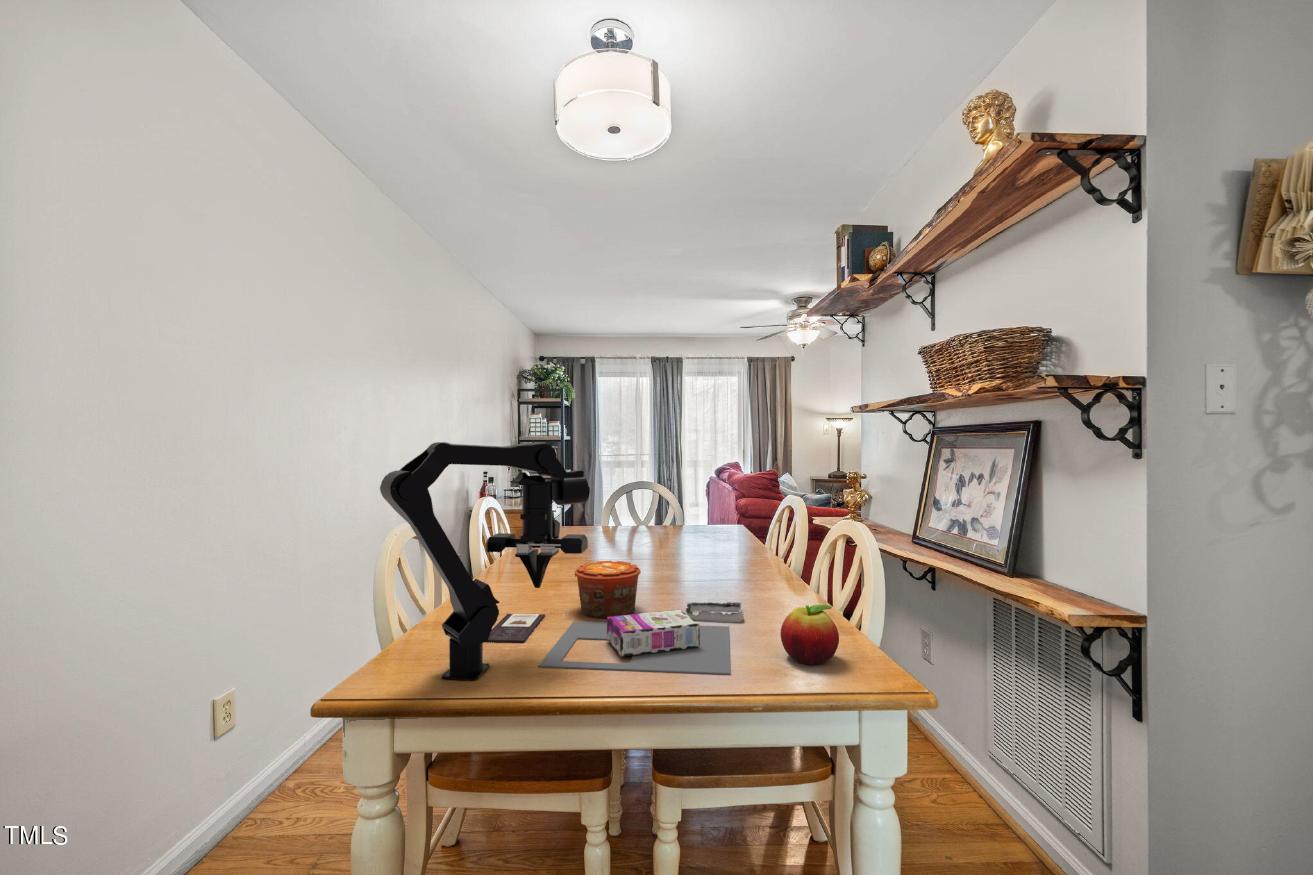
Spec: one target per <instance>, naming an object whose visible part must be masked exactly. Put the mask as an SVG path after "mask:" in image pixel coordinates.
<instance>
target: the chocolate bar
mask: <svg viewBox="0 0 1313 875" xmlns="http://www.w3.org/2000/svg"><path fill="white" fill-rule="evenodd" d="M545 617H546V614H543V613H541V614H539V613H538V614H537V613H535V614H534V613H507V614H506V615H505V616H504V617H503V618H502V619H501V620H500V621H498V623H497V624H495V625H494V626H493V627H492V630H491V633H490V636H489V639H488V641H487V642H490V644H491V642H492V643H493V642H494V643H496V644H499V643H500V644H501V643H502V644H525V643H526V642H527V641H528V640H529V638H530V637H529V636H531V635H532V634H533V633H534V632H535V630H536V629H537V628H538V626H540V624H541V623H542V621H544V619H545ZM540 622H541V623H540ZM535 628H536V629H535ZM534 629H535V630H534ZM494 643H493V644H494Z"/></svg>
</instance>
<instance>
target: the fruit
mask: <svg viewBox="0 0 1313 875" xmlns="http://www.w3.org/2000/svg"><path fill="white" fill-rule="evenodd" d="M832 609H833V606H832V605H828V604H813V605H809V604H806V605H805V607H796V608H794V609H793V610H791V611H790V612H788V614H787V615H786V617H785V618H784V620H783V622H782V624H781V628H780V639H781V640H780V641H781V645H782V648H783V649H784V651H785V652H786V654H787V655H788V656H790V658H791V659H793V660H794V661H795V662H797V663H799V664H802V665H803V664H804V665H809V666H810V665H815V666H816V665H822V664H825V663H826V662H828V661H830V660H831V658H833V656H834V655H835V654H836V652H837V650H838V646H839V643H840V635H839V634H840V633H839V630H838V628H837V625H836V624H835V622H834V621H833V619H832V618H831V617H830V616H829V614H828V613H827V612H826V611H827V610H832ZM824 610H826V611H824Z"/></svg>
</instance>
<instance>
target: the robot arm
mask: <svg viewBox="0 0 1313 875" xmlns="http://www.w3.org/2000/svg"><path fill="white" fill-rule="evenodd" d="M450 465H464V466H465V465H467V466H468V465H469V466H502V467H508V468H511V469H516V470H521V471H519V473H518V474H517V476H515V477H514V478H513V479H512V480H511V482H510V483H511V484H512V485H516V486H521V493H522V496H521V499H522V500H521V504H522V506H521V507H522V508H521V511H522V513H520V515H519V516H520V520H521V521H522V524H521V525H522V527H521V529H522V534H521V535H520V537H516V535H515V533H512V532H511V533H506V532H504V533H503V532H502V533H499V532H498V533H495V534H493V535H490V536H489V537H488V538H487V539H486V542H485V552H486V553H502V552H503V551H504V550H505V549H507V548H511V549H512V548H515V549H516V553H514V557H515V558H519V559H520V561H521V563H522V564H523V566H524V567H525V569H526V572H527V574H528V576H529V578H530V580H531V582H532V585H533V586H534V588H535V589H540V588H541V586H542V583H543V581H544V577H545V573H546V571H547V568H548V566H549V563H550V561H551V559H552V558H553V557H555V556H556V555H557V554H558V553H560V550H561V551H562V552H563V554H566V555H567V554H569V555H572V554H575V555H576V554H578V555H579V554H583V553H584V552H585V551H586V550H588V548H589V547H588V546H589V545H588V544H589V543H588V542H589V540H588V537H587V536H586V535H585V534H577V533H576V534H575V533H573V534H572V533H571V534H566V535H564V536H563V537H562V538H560V532H561V530H560V529H561V522H560V521H559V520H557V519H556V517H555V512H554V510H553V502H554V503H555V504H556V505H558V506H567V505H578V504H585V503H586V502H588V500H589V498H590V494H591V491H590V490H591V489H590V486H589V482H588V480H587V477H585V475H584V474H585V472H584V470H580V469H575V470H573V469H572V470H570V471H566V469H565V468H564V466H563V465H562V463H561V462H560V460H559V459H558V456H557V452H556V449H555V448H554V447H553V445H552V444H550V443H548V442H525V443H524V442H523V443H517V444H510V445H504V446H503V445H502V446H497V445H496V446H495V445H476V444H458V443H451V442H445V441H444V442H443V441H441V442H440V441H438V442H437V441H436V442H432V443H431V444H429V446H428V447H427V448H426V449H425V450H423V452H421V453H420V454H418V455H417V456H415V457H414V458H413V459H411V460H410V461H408V462H407V463H406V464H405V465H404V466H402V467H401V468H400V469H398V470H393V471H391V472H389V473H387V474H386V475H385V476H384V477H383V479H382V480H381V483H380V486H379V491H380V494H381V496H382V498H383V499H384V500H385V501H386V503H387V504H389V506H391V508H392V509H393V510H394V511H395V512H396V513H397V514H398V515H399V516H400V517H401V518H402V519H403V520H404V521H406V522H407V524H408V525H409V526H410V528H411V530H413V533H414V534H415V536H416V537H417V539H418V541H419V543H420V544H421V546H422V548H423V550H424V551H425V553H426V554H427V555H428V557H429V559H430V561H431V562H432V564H433V565H434V567H435V569H436V570H437V572H438V574H439V576H440V577H441V579H442V581H443V582H444V584H445V585H446V587H447V589H448V592H449V595H448V596H449V600H450V601H449V602H450V604H451V606H452V607H451V608H452V609H453V612H451V613H450V615H449V616H448V617H447V618H446V619H445V621H444V622H443V623H442V624H441V627H442V630H443V633H444V635H445V636H448V637H449V640H448V643H449V644H448V646H449V647H448V648H449V651H448V652H449V654H448V659H449V662H448V663H449V666H448V667H449V668H448V669H447V670H446V671H445V672H444V673H442V674H441V675H440V676H441V679H442V680H443V679H445V680H462V681H463V680H464V681H465V680H466V681H476V680H478V679H479V678H480V677H481V676H482V675H483V674H484V673H485V672H486V671H487V670H488V669H489V668H490V667H491V664H490V663H485V662H484V657H483V656H484V652H483V651H484V648H483V647H484V646H483V645H484V642H487V641H488V639H489V636H490V633H491V630H492V629H493V628H494V627H495V625H496V622H497V621H498V617H499V616H500V610H499V606H498V605H497V604H500V601H499V600H498V599H497V598H495V595H494V593H493V591H492V588H491V586H490V585H489V584H488V583H486V582H484V581H482V580H479V579H478V578H475V579H474V580H473V579H472V576H471V575H470V573H469V571H468V570H467V568H466V566H465V565H464V563H463V561H462V560H461V558H460V556H459V555H458V553H457V551H456V549H455V548H454V546H453V544H452V542H451V541H450V539H449V537H448V536H447V535H446V532H445V530H444V529H443V528H442V525H441V524H440V522H439V521H438V519H437V517H436V515H435V512H434V507H433V500H432V496H431V494H430V490H429V488H430V487H431V486H432V485H434V483H435V482H436V481H437V480H438V479H439V477H440V476H441V474H442V473H443V472H444V471H445V470H446V469H447V467H449V466H450ZM524 471H525V472H524ZM527 472H530V473H531V472H532V473H535V474H534V475H528V474H527ZM536 474H537V475H536ZM544 477H550V479H545V478H544ZM539 549H540V552H539Z"/></svg>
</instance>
